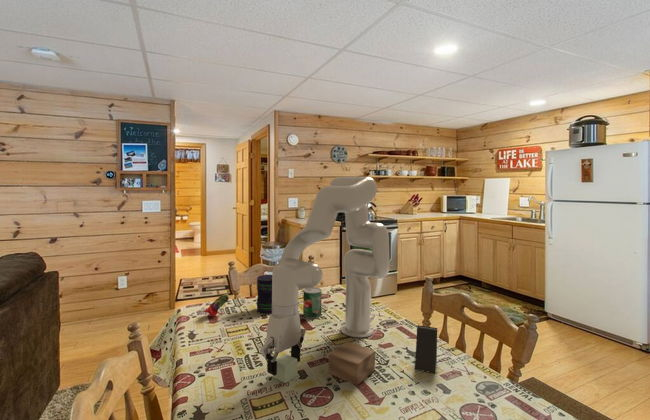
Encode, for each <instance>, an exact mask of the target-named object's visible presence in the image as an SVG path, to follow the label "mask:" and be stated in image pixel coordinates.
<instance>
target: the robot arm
mask: <svg viewBox="0 0 650 420" xmlns="http://www.w3.org/2000/svg"><path fill="white" fill-rule="evenodd" d="M377 189H378V186H377V183H376V181H375V180H374V178H372V177H370V176H338V177H335V178H333V179H332V180H331V181H330V184H329V185H328V186H323V187H322V188H320V189H319V190H318V192H317V194H316V196H315V199H314V201H313V205H312V208H311V210H310V212H309V215H308V218H307V222H306V224H305V226H304V227H303V228H301V229H300V230H299V231H298V232H297V233H296V234H295V235H294V236H293V237H292V238H291V239H290V240H289V242H288V243H287V244H286V246H285V247H284V249H283V252H282V254H281V257H280V260H279V263H278V265H276V266H274V267H273V269H272V272H271V273H272V274H271V275H272V314H269V317H268V321H267V328H266V341H265V343H264V344H263V345H262V346H261V347H260V352H261V354H262V357H264V359H266V360H267V363H266V364H267V365H266V370H267V373H268V374H270V375H272V376H273V375H274V376H275V375H277V361H275V360H276V359H277V358H278V357H279V356H278V355H279V354H280V353H282V352H284V351H286V350H289V349H290V356H291V357H294V358H296V359H297V363H299V362H301V348H302V347H303V341H304V340H305V334H306V329H304V328H301V317H300V312H299V293H300V292H299V290H304V289H305V288H312V287H313V288H316V287H317V286H318V285H319V284H320V283H321V282H322V279H323V275H324V274H323V270H322V268H321V266H320V265H318V264H316V263H314V262H311V261H305V260H300V257H301V255H302V253H303V252H304V251H305V250H306V249H307V248H309V247H310V246H311V245H313V244H316V243H318V242H321V241H323V240H325V239H328V238H330V236H331V234H332V231H333V229H334V226H335V223H336V220H337V217H338V214H339V213H344V215H345V217H344V219H345V237H346V241H347V244H348V245H350V246H353V247H356V248H353V249H348V251H346V253H344V257H343V268H344V273H345V275H344V276H345V309H344V310H345V313H344V314H345V318H344V319H345V320H344V322H345V323H343V324H342V325H341V328H340V331H341V332H342V334H343V335H345V336H348V337H350V338H351V337H352V338H368V337H371V336H372V335H374V333H375V328H374V326H373V325H371V322H372V321H374V320H375V316H374V314H371V300H372V299H371V297H372V296H371V294H372V293H371V292H372V287H371V282H370V280H369V278H374V279H384V278H385V277H387V276H388V274H389V271H390V265H391V264H390V263H391V262H390V234H389V231H388V228H387V227H386V226H385V224H383V223H380V222H371V221H370V220H369V210H368V206H367V205H368V204H369V203H371V202H372V201H373V200H374V199H375V197H376V195H377V191H378V190H377ZM358 247H359V248H358ZM360 248H365V249H360ZM367 249H371V250H367ZM272 354H273V355H272Z"/></svg>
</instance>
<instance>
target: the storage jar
mask: <svg viewBox="0 0 650 420" xmlns="http://www.w3.org/2000/svg"><path fill="white" fill-rule="evenodd" d="M256 280H257V281H256V291H257V298H256V312H257V313H258V314H260V315H271V314H272V274H262V275H259V276H257V277H256Z"/></svg>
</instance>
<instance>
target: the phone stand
mask: <svg viewBox="0 0 650 420" xmlns="http://www.w3.org/2000/svg"><path fill="white" fill-rule="evenodd" d="M414 356H415V359H414V370H416V369H418V370H417V371H421V370H424V371H423V372H426V371H429V372H428V373H431V372H435V373H436V369H437V362H436V361H438V357H437V356H438V327H433V326H428V325H427V326H425V325H420V324H419V325H418V324H417V326H416V342H415V355H414Z"/></svg>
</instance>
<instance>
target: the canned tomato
mask: <svg viewBox="0 0 650 420" xmlns="http://www.w3.org/2000/svg"><path fill="white" fill-rule="evenodd" d="M302 290H303V296H302V297H303V300H302V304H303V305H302V306H303V311H302V312H303V315H302V316H303V317H305V318H306V319H319V318H321V317H322V306H323V305H322V300H323V299H322V297H323V295H322V291H323V290H322V289H321V288H319V287H312V288H304V289H302Z"/></svg>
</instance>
